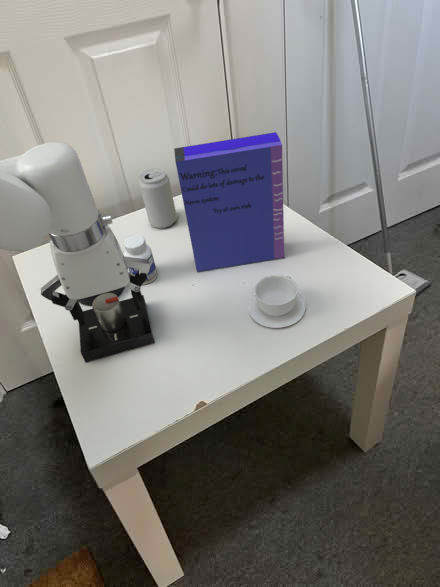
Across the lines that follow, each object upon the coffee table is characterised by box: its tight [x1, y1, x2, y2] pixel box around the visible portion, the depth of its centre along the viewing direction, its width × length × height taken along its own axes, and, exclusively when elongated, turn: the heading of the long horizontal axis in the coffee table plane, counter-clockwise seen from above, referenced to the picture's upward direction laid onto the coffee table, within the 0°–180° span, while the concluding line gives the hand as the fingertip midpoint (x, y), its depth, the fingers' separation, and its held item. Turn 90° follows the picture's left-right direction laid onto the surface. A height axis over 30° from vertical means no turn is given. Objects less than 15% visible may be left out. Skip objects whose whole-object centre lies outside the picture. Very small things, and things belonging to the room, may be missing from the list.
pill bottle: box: [123, 234, 158, 286], centre depth 88 cm, size 5×5×9 cm
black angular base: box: [78, 294, 156, 363], centre depth 80 cm, size 12×10×3 cm
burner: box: [78, 287, 126, 307], centre depth 89 cm, size 10×10×2 cm
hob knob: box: [91, 293, 126, 332], centre depth 77 cm, size 4×4×5 cm
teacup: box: [247, 274, 307, 329], centre depth 79 cm, size 10×10×5 cm
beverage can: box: [138, 168, 178, 229], centre depth 100 cm, size 6×6×12 cm
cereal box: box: [173, 131, 285, 273], centre depth 84 cm, size 17×5×24 cm, turn 97°
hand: (110, 312), depth 78 cm, fingers open, 9 cm apart
